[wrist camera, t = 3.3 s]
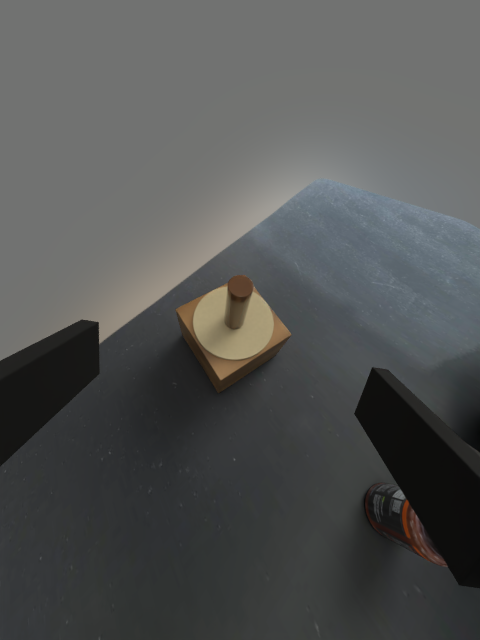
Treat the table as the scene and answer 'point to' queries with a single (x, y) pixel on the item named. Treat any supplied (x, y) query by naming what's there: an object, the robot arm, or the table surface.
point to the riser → (221, 369)
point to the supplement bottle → (399, 521)
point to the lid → (233, 321)
